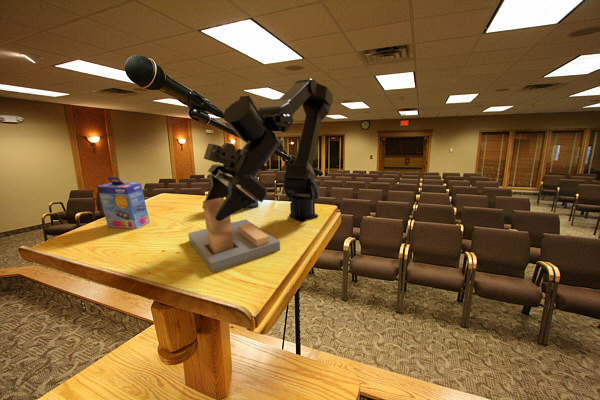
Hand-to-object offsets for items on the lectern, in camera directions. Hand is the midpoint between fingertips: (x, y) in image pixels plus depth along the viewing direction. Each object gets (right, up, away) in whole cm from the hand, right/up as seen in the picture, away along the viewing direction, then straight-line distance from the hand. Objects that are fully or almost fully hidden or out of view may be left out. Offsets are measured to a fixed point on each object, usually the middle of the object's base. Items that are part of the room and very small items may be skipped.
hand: (210, 214), depth 53 cm
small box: (-1, 0, +37) cm, 37 cm away
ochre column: (+1, -9, +3) cm, 10 cm away
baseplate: (+3, -8, +8) cm, 11 cm away
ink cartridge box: (-31, -5, +23) cm, 39 cm away
